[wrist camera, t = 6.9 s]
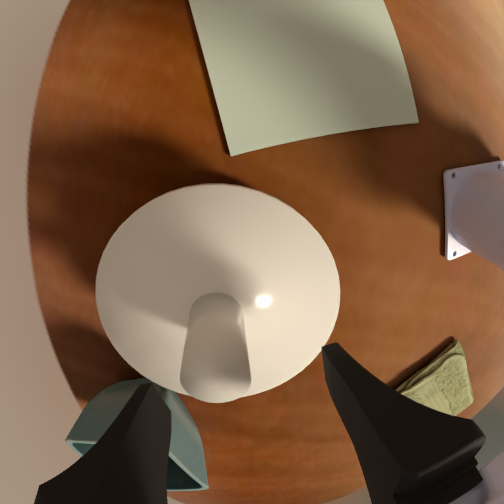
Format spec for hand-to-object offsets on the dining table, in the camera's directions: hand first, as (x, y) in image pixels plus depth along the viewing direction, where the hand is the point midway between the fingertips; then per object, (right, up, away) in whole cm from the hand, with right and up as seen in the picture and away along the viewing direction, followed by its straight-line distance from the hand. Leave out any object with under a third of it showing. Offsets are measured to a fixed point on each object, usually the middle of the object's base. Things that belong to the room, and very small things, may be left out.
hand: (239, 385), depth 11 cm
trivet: (+4, +20, +4) cm, 20 cm away
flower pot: (-9, -8, +14) cm, 18 cm away
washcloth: (+24, -14, +19) cm, 33 cm away
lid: (-1, +3, +4) cm, 5 cm away
